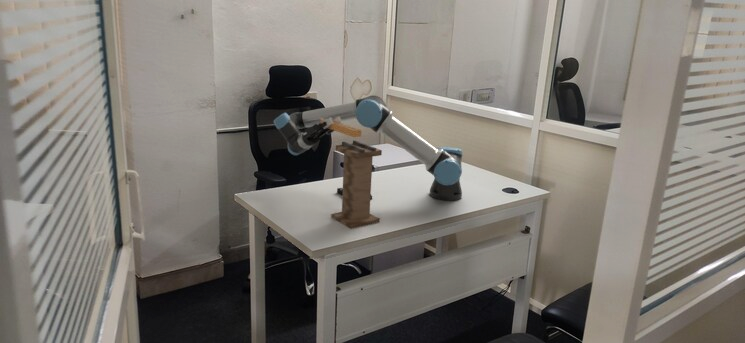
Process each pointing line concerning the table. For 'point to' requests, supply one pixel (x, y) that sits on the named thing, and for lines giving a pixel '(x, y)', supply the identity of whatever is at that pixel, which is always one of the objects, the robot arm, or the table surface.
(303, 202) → the table surface
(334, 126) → the wood grain block
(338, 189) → the disk drive
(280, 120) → the robot arm
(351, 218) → the stand
